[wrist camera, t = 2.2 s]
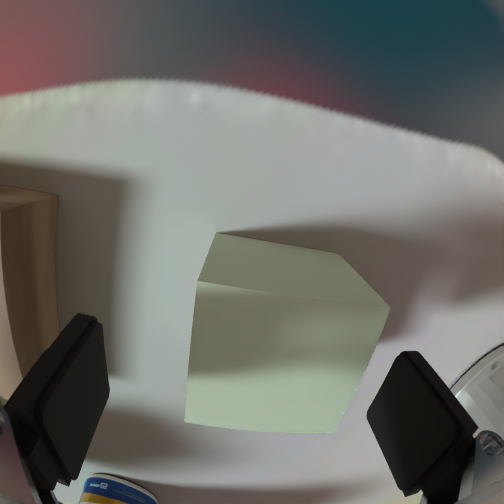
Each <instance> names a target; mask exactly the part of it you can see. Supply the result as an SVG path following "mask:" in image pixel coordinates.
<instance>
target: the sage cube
mask: <svg viewBox="0 0 504 504" xmlns="http://www.w3.org/2000/svg"><path fill="white" fill-rule="evenodd" d="M390 310H391V307H390V306H389V305H388V304H387V303H386V302H385V301H384V300H383V299H382V298H381V297H380V296H379V295H378V294H377V293H376V291H375V290H374V289H373V288H372V287H371V286H370V285H369V284H368V283H367V282H366V281H365V280H364V279H363V278H362V277H361V276H360V275H359V274H358V273H357V272H356V271H355V270H354V269H353V268H352V267H351V266H350V265H349V264H348V263H347V262H346V261H345V260H344V259H343V258H342V257H341V256H340V255H339V254H337V253H331V252H326V251H320V250H314V249H309V248H303V247H297V246H292V245H286V244H280V243H274V242H268V241H262V240H257V239H251V238H245V237H239V236H233V235H227V234H221V233H216V234H215V237H214V239H213V242H212V244H211V247H210V249H209V252H208V255H207V257H206V260H205V263H204V265H203V268H202V270H201V273H200V276H199V278H198V281H197V290H196V298H195V307H194V316H193V325H192V335H191V345H190V356H189V367H188V379H187V392H186V407H185V422H188V423H194V424H200V425H207V426H214V427H221V428H230V429H239V430H249V431H262V432H279V433H333V432H334V431H335V429H336V427H337V425H338V423H339V422H340V420H341V418H342V416H343V414H344V412H345V410H346V409H347V407H348V405H349V403H350V401H351V399H352V397H353V395H354V393H355V391H356V389H357V387H358V385H359V383H360V381H361V379H362V376H363V374H364V372H365V370H366V368H367V366H368V363H369V361H370V359H371V357H372V354H373V352H374V350H375V347H376V345H377V343H378V340H379V338H380V335H381V333H382V330H383V328H384V325H385V323H386V320H387V318H388V315H389V312H390Z"/></svg>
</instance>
